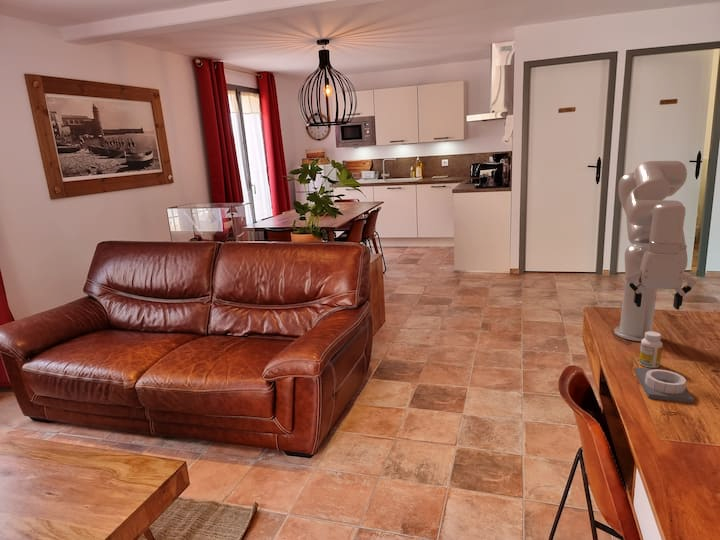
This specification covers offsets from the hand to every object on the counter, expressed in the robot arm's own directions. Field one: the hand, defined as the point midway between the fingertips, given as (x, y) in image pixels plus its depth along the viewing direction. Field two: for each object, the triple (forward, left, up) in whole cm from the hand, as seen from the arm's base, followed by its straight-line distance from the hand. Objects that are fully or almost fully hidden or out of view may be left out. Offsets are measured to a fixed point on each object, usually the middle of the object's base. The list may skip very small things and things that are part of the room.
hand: (656, 307), depth 139 cm
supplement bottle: (0, 0, -18) cm, 18 cm away
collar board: (+14, 0, -18) cm, 23 cm away
